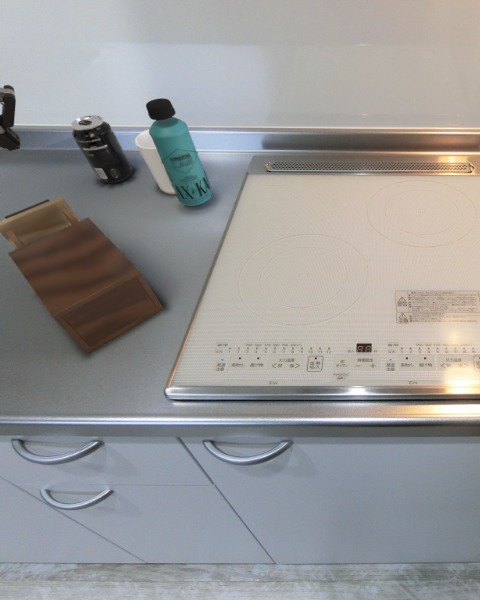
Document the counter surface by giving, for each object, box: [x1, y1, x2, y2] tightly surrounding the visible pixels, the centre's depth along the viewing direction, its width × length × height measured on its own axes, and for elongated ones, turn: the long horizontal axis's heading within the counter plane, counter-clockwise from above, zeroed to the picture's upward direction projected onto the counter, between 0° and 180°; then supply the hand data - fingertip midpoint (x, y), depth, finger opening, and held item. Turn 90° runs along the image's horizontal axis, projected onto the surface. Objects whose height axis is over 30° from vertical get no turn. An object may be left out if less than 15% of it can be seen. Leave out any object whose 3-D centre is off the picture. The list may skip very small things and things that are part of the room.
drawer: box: [0, 195, 80, 250], centre depth 72 cm, size 21×10×7 cm, turn 47°
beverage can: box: [70, 114, 133, 184], centre depth 88 cm, size 7×7×12 cm
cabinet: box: [7, 217, 164, 354], centre depth 66 cm, size 18×12×9 cm, turn 47°
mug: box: [134, 128, 177, 195], centre depth 87 cm, size 11×9×10 cm
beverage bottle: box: [145, 97, 212, 207], centre depth 79 cm, size 6×7×20 cm
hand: (14, 146), depth 71 cm, fingers closed
